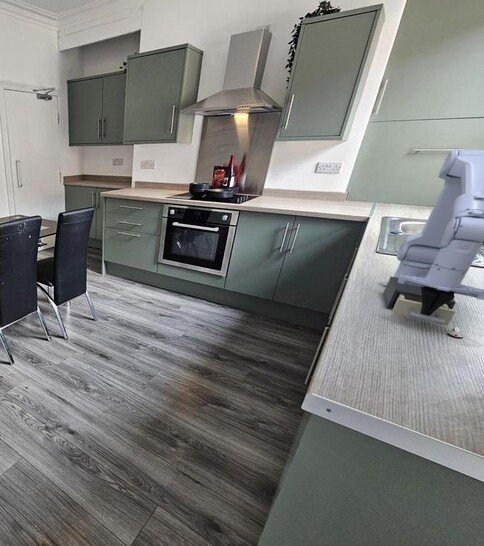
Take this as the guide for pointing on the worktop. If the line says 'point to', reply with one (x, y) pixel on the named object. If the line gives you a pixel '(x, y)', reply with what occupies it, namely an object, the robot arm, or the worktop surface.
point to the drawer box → (403, 292)
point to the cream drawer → (413, 308)
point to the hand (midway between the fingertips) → (424, 314)
